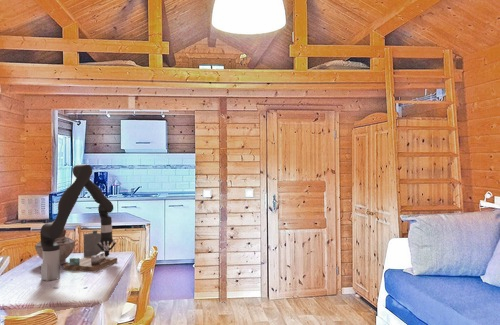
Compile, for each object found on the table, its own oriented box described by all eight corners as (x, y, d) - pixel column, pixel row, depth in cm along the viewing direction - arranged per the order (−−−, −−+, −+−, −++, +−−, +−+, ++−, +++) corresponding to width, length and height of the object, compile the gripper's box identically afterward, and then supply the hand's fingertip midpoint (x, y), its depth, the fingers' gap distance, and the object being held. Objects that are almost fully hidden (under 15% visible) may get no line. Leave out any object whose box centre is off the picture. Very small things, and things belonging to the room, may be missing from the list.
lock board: (117, 262, 278) (116, 251, 278) (94, 271, 254) (94, 260, 254) (88, 260, 284) (87, 250, 284) (63, 269, 260) (63, 258, 260)
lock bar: (98, 264, 258) (98, 256, 258) (90, 265, 257) (90, 257, 257) (106, 257, 278) (106, 250, 278) (99, 257, 278) (99, 250, 278)
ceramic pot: (81, 263, 276) (80, 228, 276) (43, 270, 258) (42, 233, 258) (66, 257, 293) (66, 225, 293) (29, 264, 275) (29, 229, 275)
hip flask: (107, 255, 298) (106, 229, 298) (106, 256, 294) (106, 229, 294) (84, 257, 294) (83, 230, 294) (83, 258, 290) (83, 231, 290)
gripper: (95, 232, 271) (95, 257, 271) (115, 231, 272) (115, 256, 273) (97, 230, 278) (98, 255, 278) (117, 229, 280) (118, 254, 280)
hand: (107, 256), depth 275 cm, fingers closed
